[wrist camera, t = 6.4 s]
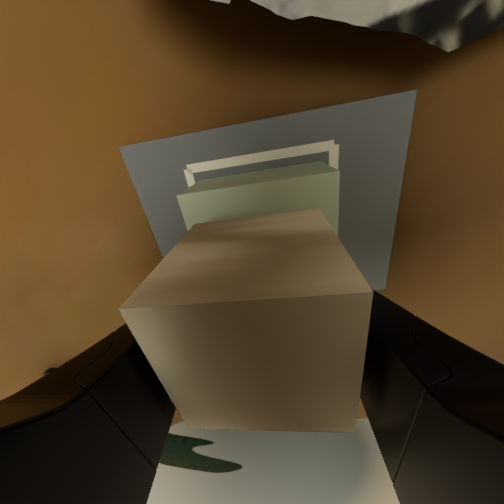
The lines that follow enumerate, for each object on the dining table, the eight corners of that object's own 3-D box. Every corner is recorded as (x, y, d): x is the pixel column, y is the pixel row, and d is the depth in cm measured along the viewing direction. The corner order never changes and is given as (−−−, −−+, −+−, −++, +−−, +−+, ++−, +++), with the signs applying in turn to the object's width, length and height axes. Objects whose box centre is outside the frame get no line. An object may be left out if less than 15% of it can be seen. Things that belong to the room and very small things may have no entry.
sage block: (226, 274, 16) (213, 312, 13) (202, 179, 13) (176, 195, 10) (321, 266, 15) (336, 305, 12) (320, 160, 12) (339, 171, 9)
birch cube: (221, 313, 11) (188, 428, 7) (194, 223, 9) (118, 309, 4) (320, 307, 10) (355, 432, 6) (318, 208, 8) (373, 292, 4)
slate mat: (183, 300, 18) (180, 304, 18) (122, 146, 13) (117, 147, 13) (382, 286, 16) (385, 290, 16) (412, 90, 11) (418, 88, 10)
